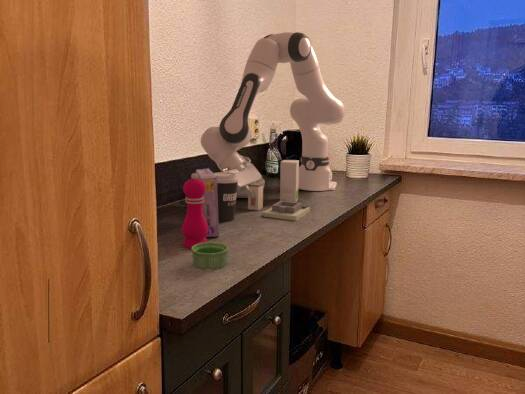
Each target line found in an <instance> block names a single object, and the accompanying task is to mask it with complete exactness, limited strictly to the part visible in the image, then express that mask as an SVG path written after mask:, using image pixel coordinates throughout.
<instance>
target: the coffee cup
mask: <svg viewBox="0 0 525 394" xmlns="http://www.w3.org/2000/svg"><path fill="white" fill-rule="evenodd" d="M213 174H214V176H215V177H216V178H217V193H218V220H219V222H231V221H234V220H235V217H236V216H235V214H236V204H237V203H236V202H237V197H236V195H237V185H238V182H239V178H238V177H237V174H236V173H230V172H221V171H220V172H219V171H218V172H213Z"/></svg>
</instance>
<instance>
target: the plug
mask: <svg viewBox="0 0 525 394" xmlns="http://www.w3.org/2000/svg"><path fill="white" fill-rule="evenodd" d="M248 187H249V189H250V190H251V191H254V193H255V194H256V196H255V197H254V198H251V197H250V196H249V195H248V198H247V209H248V210H252V211H254V210H255V211H260V210H261V209H263V207H264V205H263V203H264V189H263V183H251V184H249V185H248Z"/></svg>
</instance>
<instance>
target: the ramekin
mask: <svg viewBox="0 0 525 394" xmlns="http://www.w3.org/2000/svg"><path fill="white" fill-rule="evenodd" d="M190 249H191V252H192V262H193V266H194V267H195V268H197V269H199V268H200V270H205V269H214V270H218V269H217V268H219V269H221V267H222V268H224V267H225V266H226V265H227V261H228V260H227V259H228V252H229V249H230V248H229V246H228V245H227V244H225V243H221V242H215V241H207V242H204V243H199V244H196V245H194V246H192V248H190ZM223 266H224V267H223Z"/></svg>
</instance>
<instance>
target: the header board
mask: <svg viewBox="0 0 525 394" xmlns="http://www.w3.org/2000/svg"><path fill="white" fill-rule="evenodd" d="M309 212H311V207H309V205H308V204H303V203H302V202H297V201H296V202H289V201H280V200H279V201H277V202H276V203H274V204H272V205H271V207H270V208H268V209H266V210H264V211H263V212H262V217H265V218H272V219H278V220H280V219H281V220H287V221H288V220H289V221H295V222H296V221H298V220H300V219H301V218H303V217H304V216H305V215H307V214H309Z"/></svg>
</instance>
